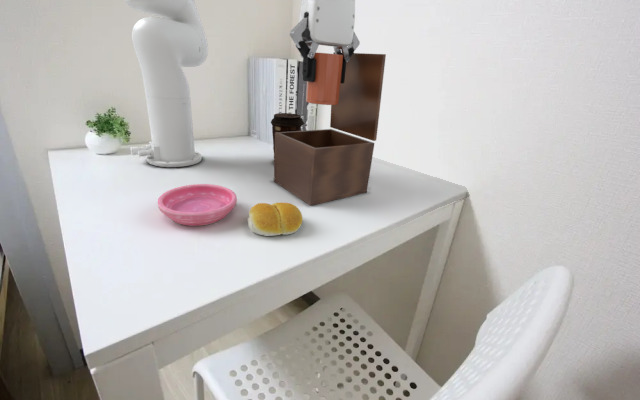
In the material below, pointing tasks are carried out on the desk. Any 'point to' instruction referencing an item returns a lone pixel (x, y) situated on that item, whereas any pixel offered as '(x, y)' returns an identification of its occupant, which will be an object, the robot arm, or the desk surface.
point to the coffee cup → (285, 124)
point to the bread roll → (274, 219)
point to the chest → (322, 164)
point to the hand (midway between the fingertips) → (323, 81)
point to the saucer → (197, 204)
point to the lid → (360, 96)
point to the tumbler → (325, 80)
